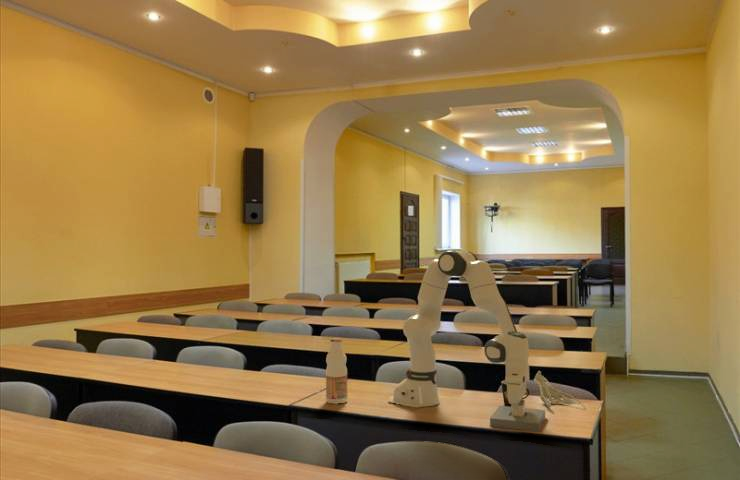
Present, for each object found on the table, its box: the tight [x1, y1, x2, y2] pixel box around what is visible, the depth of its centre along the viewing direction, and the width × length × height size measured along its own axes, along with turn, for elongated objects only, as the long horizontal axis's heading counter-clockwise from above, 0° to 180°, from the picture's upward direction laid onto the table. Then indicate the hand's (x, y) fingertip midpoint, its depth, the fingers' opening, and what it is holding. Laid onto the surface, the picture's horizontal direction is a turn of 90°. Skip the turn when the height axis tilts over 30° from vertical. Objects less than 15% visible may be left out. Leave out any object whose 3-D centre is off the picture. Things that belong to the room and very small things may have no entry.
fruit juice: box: [325, 337, 348, 405], centre depth 255 cm, size 9×9×28 cm
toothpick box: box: [511, 399, 526, 417], centre depth 222 cm, size 4×4×8 cm
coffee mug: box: [500, 379, 530, 407], centre depth 243 cm, size 12×9×10 cm
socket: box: [489, 405, 546, 433], centre depth 222 cm, size 18×18×3 cm
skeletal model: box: [533, 370, 587, 414], centre depth 246 cm, size 16×9×25 cm
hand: (517, 409), depth 222 cm, fingers open, 8 cm apart
